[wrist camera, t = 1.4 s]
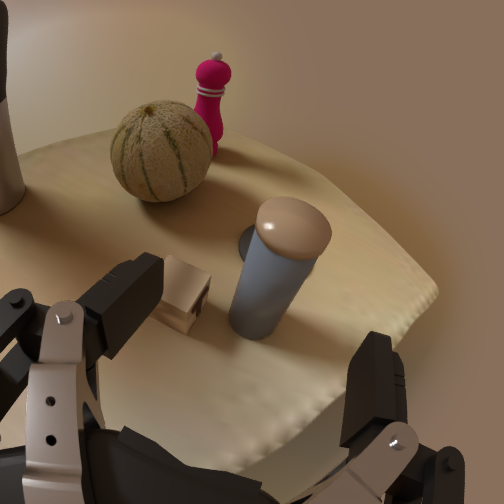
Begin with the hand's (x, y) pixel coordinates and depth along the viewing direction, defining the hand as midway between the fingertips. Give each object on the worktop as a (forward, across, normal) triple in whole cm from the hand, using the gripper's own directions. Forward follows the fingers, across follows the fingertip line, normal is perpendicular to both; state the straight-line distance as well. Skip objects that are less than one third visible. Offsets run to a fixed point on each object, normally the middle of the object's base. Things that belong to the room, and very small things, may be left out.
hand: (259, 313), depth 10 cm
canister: (+16, +2, +16) cm, 23 cm away
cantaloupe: (+29, +22, +10) cm, 38 cm away
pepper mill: (+44, +22, +6) cm, 49 cm away
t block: (+13, +10, +16) cm, 23 cm away
